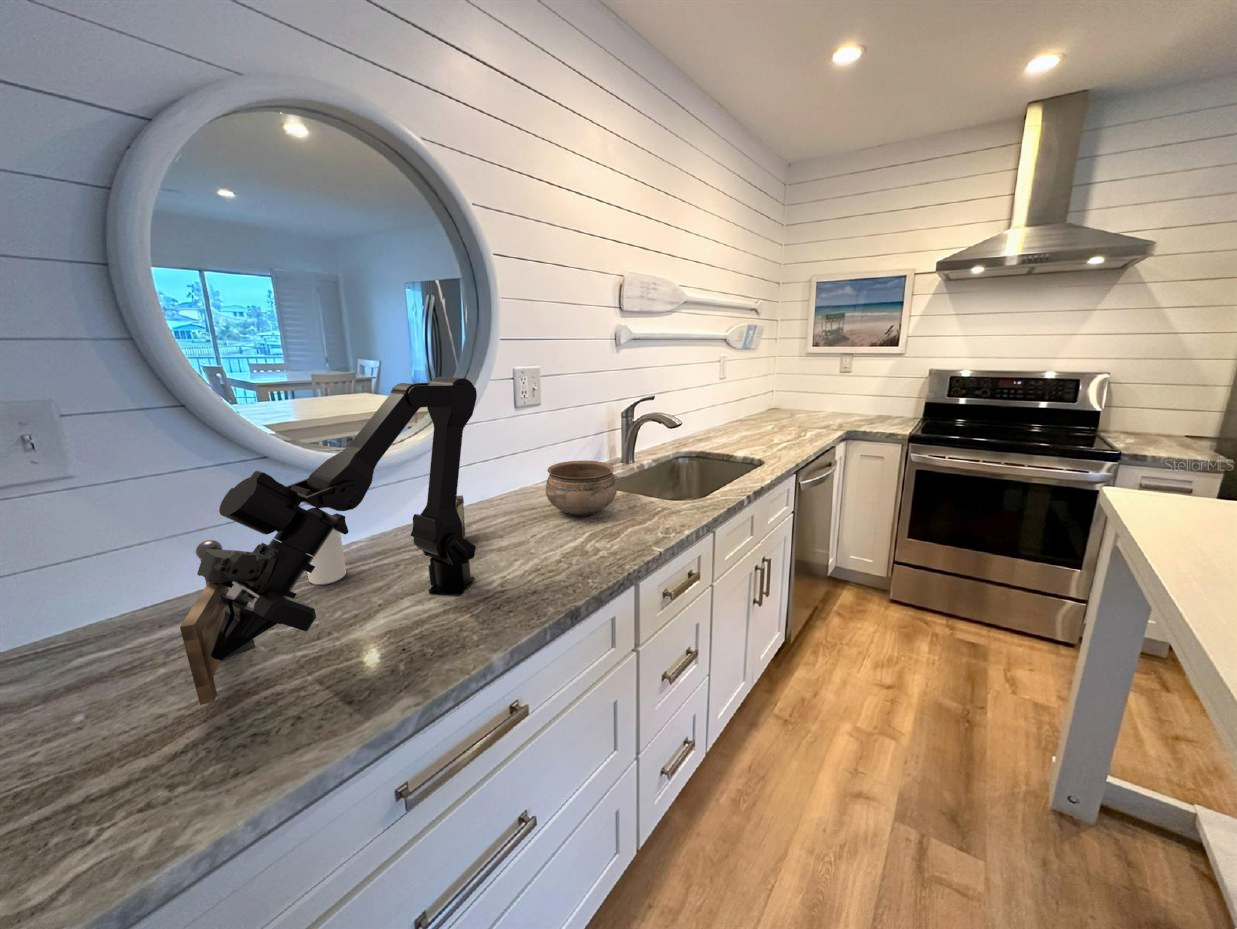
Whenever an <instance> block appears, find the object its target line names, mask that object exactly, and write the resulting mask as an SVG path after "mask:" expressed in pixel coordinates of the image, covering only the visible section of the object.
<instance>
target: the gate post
mask: <svg viewBox="0 0 1237 929" xmlns="http://www.w3.org/2000/svg"><path fill="white" fill-rule="evenodd" d="M206 549H217V550H224V549H223V546H222V544H221V542H219V541H217V540H213V539H209V540H208V539H207V540H204V541H202V542H201V543H199V544H198V545H197V546H196V549H195V555H196V557H197V558H198V559H199V560H200V561H201V560H202V557H203V554H204V551H205V550H206ZM204 580H205V579H204ZM208 583H209V582H208V581H206V580H205V585H206V586H207V584H208ZM206 586H205V587H206ZM227 588H228V592H229V590H230V587H227ZM254 639H255V638H254ZM254 639H252V640H250V641H249V642H248V643H246V644H245V645H243V646H242V647H240V648H239V649H237V650H236V651H234V652H233V653H231V654H230V655H229V656H227V657H226V658H224V659H223V660H221V661H220V662H222V661H224V660H226V659H228V658H232V657H233V656H236V655H238V654H239V653H242V652H244V651H247V650H249V649H252V648H254V647H255V646H256V645H255V640H254Z"/></svg>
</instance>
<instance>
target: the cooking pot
mask: <svg viewBox="0 0 1237 929" xmlns="http://www.w3.org/2000/svg"><path fill="white" fill-rule="evenodd" d="M614 471H615V467H614V466H613V465H612V464H611V463H607V462H602V461H598V460H569V461H564V462H558V463H555V464H551V465H550V466H549V467H547V472H548V474H549V475H548V477H547V479H546V484H545V495H546V497H547V500H548V501H549V503H550V504H552V505H553V507H555V508H556V509H558V510H561V511H562V512H564V513H567V514H568V515H570V516H573V517H577V518H578V517H580V518H585V517H589V516H592V515H594V514H596V513H598V512H600V511H602V510H604V509H605V508H607V507H608V506H609V505H610V504H612V502H613V501H614V499H615V497H616V495H617V491H618V490H617V489H618V485H617V482H616V478H615V475H614V473H613V472H614Z"/></svg>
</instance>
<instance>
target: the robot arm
mask: <svg viewBox="0 0 1237 929" xmlns="http://www.w3.org/2000/svg"><path fill="white" fill-rule="evenodd" d="M390 390H391V391H390V394H389V395H388V397H387V398H386V399H385V400H384V401H383V403H382V404H381V405H380V406H379V407H378V409H377V410H376V411H375V412H374V414H372V416H371V417H370V419H368V420H367V422H366V424H364V426H363V427H362V429H361V430H360V431H359V432H358V433H357V434H356V436H355V437H354V438H353V439H352V441H351V442H350V443H349V444H348V445H347V446H346V447H345V448H344V449H343V450H342V451H340V452H338V453H337V454H335V455H333V456H331V457H329V458H328V459H326V460H325V461H324V462H323V463H321V465H320V466H318V467H317V468H316V469H315V470H314V471H312V472H311V473H310V474H309V475H308V477H307V478H305V479H303V480H300V481H297V482H294V483H291V484H289V485H284V484H282V483H281V482H278V481H277V480H276V479H275V478H273V477H272V476H271V475H269V474H267V473H265V472H263V471H260V470H255V471H254V472H253V473H252V474H251V476H249V477H248V478H247V477H246V478H245V479H243V480H242V481H240V482H239V483H237V484H236V485H235V486H234V487H231V488H230V489H229V490H228V491H227V493H226V494H225V495H224V497H223V499H222V500H221V502H220V505H219V510H218V512H219V514H220V516H222V517H224V518H226V519H229V520H231V521H233V522H236V523H237V524H240V525H241V526H244V527H247V528H249V529H251V530H253V531H255V532H257V533H259V534H262V535H269V534H272V533H274V532H277V533H276V534H275V536H274V537H273V538H272V539H271V541H270V542H269V543H268V544H266V543H264V542H261V543H260V544H258V545H256V547H255V548H254V549H253V551H243V550H234V549H231V550H230V549H223V550H217V549H206V550H205V551H204V554H203V557H202V560H200V563H199V567H198V570H197V573H196V575H197V576H199V577H200V576H201V577H203V578H204V580H206V581H208V582H211V583H212V584H215V585H218V584H219V583H222V585H224V586H227V587H229V592H228V593H227V594H224V593H220V597H221V598H222V601H223V603H224V606H225V610H226V611H225V615H224V619H223V622H222V625H221V628H220V631H219V634H218V637H217V640H216V643H215V645H214V648H213V651H212V654H211V656H212V657H213V658H214V659H217V660H222V661H224V660H223V659H224V658H226V657H227V656H229V655H230V654H231V653H233V652H234V651H236V650H237V649H239V648H240V647H242V646H243V645H245V644H246V643H248V642H249V641H250V640H252V639H255V638H256V637H258V636H260V635H261V634H263V633H265V632H267V631H268V630H270V629H271V628H273V627H274V626H277V625H278V624H279V625H285V626H287V627H290V628H294V629H297V630H300V631H304V632H308V631H309V630H310V627H311V626H312V625H313V623H314V622H315V620H316V619H317V614H316V610H315V608H314V607H312V606H311V605H309V604H306V603H305V602H303V601H301V600H299V599H296V597H297V594H298V593H296V592H295V591H293V589H294V588H295V586H296V584H297V583H298V582H299V580H300V579H301V578H302V576H303V575H304V573H305V572H309V573H312V571H313V570H314V568H315V566H313V565H311V564H310V563H311V561H312V560H313V558H314V557H315V555H316V554H317V552H318V551H319V549H320V548H321V547H322V545H323V544H324V542H325V541H326V539H327V538H328V536H329V535H330V533H331V532H332V530H335V531H337V532H340V534H343V535H347V534H348V533H349V532H350V531H349V529H348V526H347V523H346V516H345V515H343V514H341V513H337V512H346V511H347V512H348V511H351V510H354V509H356V508H357V507H358V506H359V505H360V504H361V503H362V501H363V500H364V498H365V496H366V494H367V493H368V490H369V489H370V487H371V485H372V483H373V478H374V472H375V468H376V467H377V465H378V463H379V461H381V459H382V457H383V456H385V454H386V453H387V451H389V448H390V447H391V446H392V445H393V443H394V442H395V441H396V439H398V437H399V435H400V434H401V433H402V431H403V430H405V428H406V427H407V425H408V424H409V422H410V421H411V420H412V419H413V417H414V416H415V415H416V414H417V412H418V411H419V410H420V409H421V408H426V409H427V412H428V414H429V416H430V419H431V421H432V423H433V434H432V436H433V437H432V443H431V444H432V446H431V459H430V468H429V478H428V480H429V481H428V489H427V501H426V502H427V503H426V506H425V507H424V509H423V510H422V511H421V513H415V514H413V516H412V531H411V532H410V536H411V537H412V538H413V544H414V545H415V546H416V547H417V548H418V549H419V550H421V551H422V553H423V554H424V556H426V557H430V558H429V563H430V564H429V565H428V574H429V575H428V576H429V583H430V585H431V587H430V588H429V589H428V590H427V591H428V594H437V595H449V596H450V595H451V596H462V595H463V594H464V593H465V591H466V590H468V588H469V587H470V586H471V584H472V583H474V581H475V580H476V579H475V576H471V566H470V564H471V563H470V560H472V559H474V557H475V554H476V549H477V547H476V545H474V544H473V543H471V542H470V541H468V540H467V539H465V538H463V531H462V522H461V519H460V517H459V514H458V512H457V509H456V497H457V496H458V494H457V493H458V487H459V486H458V485H459V477H460V476H459V474H460V465H461V455H462V454H461V453H462V443H463V431H464V428H465V427H466V425H467V424H468V423H469V421H470V419H471V418H472V417H473V415H474V411H475V406H476V402H477V397H478V396H477V394H478V393H477V392H478V391H477V388H476V387H475V386H474V384H473V383H472V382H471V380H469V379H467V378H465V377H449V376H437V377H435V378H433V379H432V380H431V381H429V382H414V383H407V382H406V383H405V382H400V383H397V384H396V385H394V386H393V387H392V389H390ZM302 503H303V504H305V505H308V506H312V507H311V508H307V509H305V508H303V507H301V506H300V505H301V504H302ZM325 508H326V509H327V508H329V509H331V510H334V511H336V513H333V514H330V513H328V512H326V511H324V510H323V509H325ZM308 554H309V555H308ZM310 555H311V556H310ZM312 556H314V557H312ZM206 581H205V582H206Z"/></svg>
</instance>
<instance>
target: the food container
mask: <svg viewBox="0 0 1237 929" xmlns="http://www.w3.org/2000/svg"><path fill="white" fill-rule="evenodd" d="M464 500H465V499H464V495H457V497H456V509H457V512H458V514H459V517H460V519H461V522H462V531H463V538H464V539H465V538H466V527H465V526H466V524H465V510H464V509H465V508H464V507H465V506H464V504H465V501H464Z"/></svg>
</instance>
